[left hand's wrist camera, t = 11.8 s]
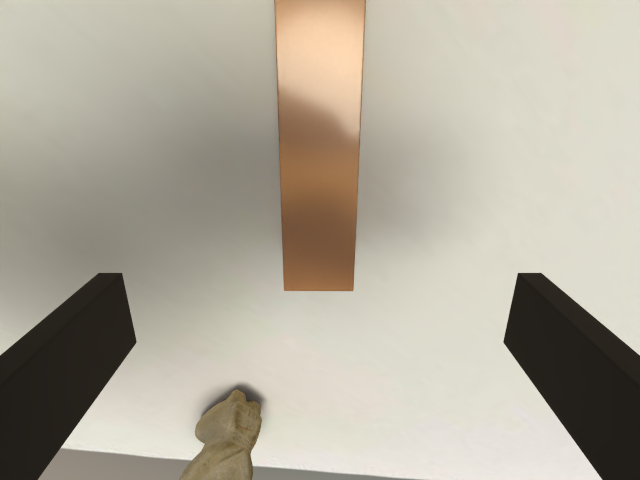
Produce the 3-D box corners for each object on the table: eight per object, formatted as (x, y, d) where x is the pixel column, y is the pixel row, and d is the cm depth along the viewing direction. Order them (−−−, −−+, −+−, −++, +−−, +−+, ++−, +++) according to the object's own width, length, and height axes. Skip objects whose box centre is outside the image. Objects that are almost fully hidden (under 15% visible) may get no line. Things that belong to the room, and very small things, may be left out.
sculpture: (190, 412, 41) (122, 581, 27) (235, 374, 39) (188, 534, 25) (231, 441, 42) (188, 615, 28) (277, 406, 40) (254, 574, 26)
